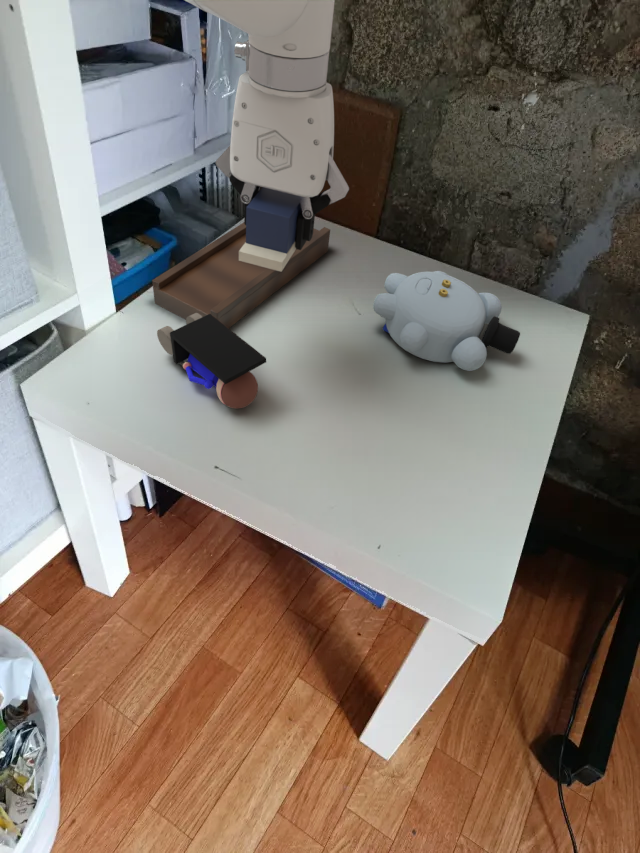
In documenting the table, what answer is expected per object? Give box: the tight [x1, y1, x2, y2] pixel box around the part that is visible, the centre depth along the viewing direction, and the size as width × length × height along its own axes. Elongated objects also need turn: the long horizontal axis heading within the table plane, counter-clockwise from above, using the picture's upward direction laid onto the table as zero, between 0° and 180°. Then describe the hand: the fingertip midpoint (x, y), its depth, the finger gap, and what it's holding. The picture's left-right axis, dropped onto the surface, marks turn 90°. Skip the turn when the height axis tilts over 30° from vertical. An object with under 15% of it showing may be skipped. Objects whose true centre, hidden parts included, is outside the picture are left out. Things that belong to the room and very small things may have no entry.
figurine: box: [372, 270, 521, 372], centre depth 89 cm, size 17×8×20 cm
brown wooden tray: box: [151, 222, 331, 329], centre depth 96 cm, size 28×11×4 cm, turn 147°
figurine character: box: [156, 313, 267, 409], centre depth 79 cm, size 7×8×15 cm
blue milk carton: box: [239, 187, 301, 272], centre depth 72 cm, size 12×5×6 cm, turn 163°
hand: (278, 236), depth 73 cm, fingers closed on blue milk carton, 5 cm apart
